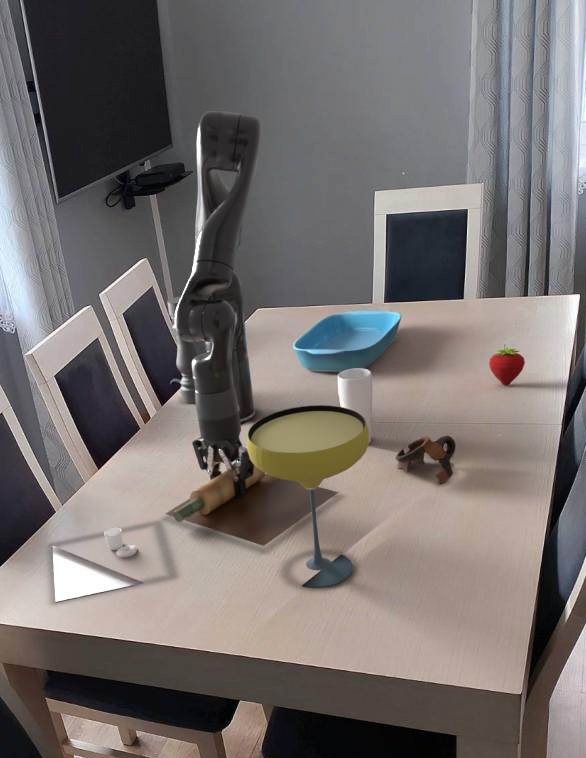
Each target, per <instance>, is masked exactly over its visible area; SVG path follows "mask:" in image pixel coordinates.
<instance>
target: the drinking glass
mask: <svg viewBox="0 0 586 758" xmlns="http://www.w3.org/2000/svg"><path fill="white" fill-rule="evenodd" d="M337 393H338V400H339V407H343V408H347V409H351V410H353V411H355V412H357V413H359V414H360V415H362V416H363V417H364V419H365V421H366V423H367V426H368V432H369V442H368V444H370V443H371V442H372V413H373V412H372V411H373V379H372V372H371V370H370V369H367V368H364V369H362V368H354V369H348V370H344V371H342V372H338V374H337Z"/></svg>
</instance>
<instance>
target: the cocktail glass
mask: <svg viewBox="0 0 586 758" xmlns="http://www.w3.org/2000/svg"><path fill="white" fill-rule="evenodd" d="M368 442H369V432H368V426H367V423H366V421H365V419H364V417H363V416H362V415H360V414H359V413H357V412H355V411H353V410H351V409H347V408H343V407H340V406H337V405H327V404H325V405H323V404H321V405H320V404H319V405H317V404H316V405H315V404H314V405H302V406H297V407H289V408H286V409H283V410H277V411H275V412H274V413H273V412H272V413H270V414H268V415H266V416H263V417H262V418H260V419H259V420H256V422H254V423H253V424H252V425H251V427H250V428H249V429H248V431H247V433H246V448H247V450H248V454H249V457H250V460H251V461H252V463H253V464H254V465H255V466H256V467H257V468H258V469H260V470H261V471H263V472H264V473H265V474H268V475H270V476H273V477H276V478H279V479H283V480H289V481H296V482H299V483H300V484H301V485H302V486H303V487H304V488H306V489H308V490H310V498H311V509H312V511H311V518H312V519H311V520H312V532H313V533H312V534H313V548H314V549H313V558H310V559H309V560H307V562H306V563H305V566H306V568H308V569H309V570H312V571H318V572H317V573H316V574H314V575H313V576H312V577H310V578H309V579H307V581H305V582H304V583H302V584H301V587H305V588H312V589H315V588H316V589H320V588H328V587H331V586H335V585H337V584H338V585H339V584H340V583H342V582H344V581H345V580H346V579H348V578H349V576H350V575H351V574H352V572H353V568H354V567H353V563H352V561H351V559H350V558H349V557H347V556H346V555H345V554H340V555H338V556H337V557H336V558H334V559H333V560H332V561H331V560H330V559H329V558H327V557H323V555H322V551H321V547H320V540H319V539H320V538H319V531H318V530H319V529H318V522H317V511H316V509H315V499H314V489H316V488H317V487H320V485H321V483H322V482H323V481H324V480H325V479H329V478H332V477H334V476H337V475H339V474H341V473H344V472H345V471H347V470H348V469H350V468H351V467H353V466H354V465H356V464H357V463H358V462H359V461H360V460H361V459H362V458H363V456H365V454H366V452H367V450H368V448H369V443H368Z"/></svg>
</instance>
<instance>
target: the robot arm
mask: <svg viewBox="0 0 586 758" xmlns="http://www.w3.org/2000/svg"><path fill="white" fill-rule="evenodd" d="M262 138H263V126H262V122H261V120H260V118H259V117H258V116H255V115H251V114H245V113H240V112H239V113H238V112H230V111H221V110H208V111H205V112H204V113H203V114H202V115H201V117H200V120H199V122H198V126H197V132H196V144H195V145H196V147H195V149H196V169H197V170H196V171H197V197H196V198H197V199H196V201H197V202H196V211H195V226H194V227H195V228H194V229H195V231H194V237H195V238H194V240H195V241H194V242H195V244H194V246H195V247H194V249H195V250H194V255H193V261H192V267H191V268H192V270H191V274H190V276H189V277H188V280H187V282H186V285H185V287H184V290H183V292H182V294H181V296H180V297H181V299H180V301H179V303H178V305H177V308H176V312H175V317H174V321H173V325H175V329H176V332H177V334H178V336H179V337H180V338H181V339H182V340H184V341H187V342H194V343H204V346H205V352H202V353H198V354H199V355H197V356H196V357H194V359H193V360H192V374H193V380H194V386H195V402H196V403H195V409H196V414H197V415H196V416H197V421H198V426H199V427H198V428H199V434H200V437H198V438H196V439H194V440H193V441H192V442H191V444H192V447H193V451H194V453H195V456H196V460H197V462H198V466H199V468H200V470H201V471H206V472H207V474H208V475H209V479H210V480H212V479H213V478H215V477H217V476H218V475H220V474H222V473H223V472H222V470H221V466H222V464H224V465H225V468H226V471H227V470H228V471H230V472H231V475H232V477H233V479H234V481H233V483H234V490H235V497H236V498H239V499H240V498H242V497H243V496H245V494H246V492H247V489H246V481H245V480H246V479H247V478H249V477H250V476H252V475H253V473H254V464H253V463H252V461H251V460H250V457H249V454H248V450H247V447H244V446H243V443H242V442H241V441H242V440H241V439H240V435H241V432H242V426H241V424H242V423H246V422H249V421H250V420H252V419H254V418H255V417H256V409H255V403H254V394H253V386H252V377H251V376H252V375H251V369H250V361H249V352H248V344H247V336H246V335H247V334H246V324H245V313H244V312H245V311H244V310H245V309H244V295H243V294H244V293H243V287H242V282H241V279H240V277H239V275H238V273H237V272H235V270H234V267H235V261H236V256H237V251H238V249H239V248H240V246H241V242H242V238H243V229H244V218H245V214H246V210H247V207H248V204H249V200H250V196H251V192H252V188H253V184H254V181H255V176H256V173H257V172H256V171H257V168H258V164H259V159H260V153H261V147H262ZM220 171H222V172H223V171H224V172H231V173H236V176H235V180H234V182H233V185H232V187H231V189H230V188H229V186H228V185H227V184H226V182H225V181H224V179H223V178H222V176H221V174H220ZM176 332H175V333H176ZM181 380H182V379H179V378H173V379H172V380H170V383H169V384H170V385H175V383H177V384H180V382H181ZM236 468H238V471H239V473H237V471H236Z"/></svg>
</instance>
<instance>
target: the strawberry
mask: <svg viewBox="0 0 586 758" xmlns="http://www.w3.org/2000/svg"><path fill="white" fill-rule="evenodd" d="M503 348H504V349H495V350H494V352H498V353H495V354H493V355H492V356H491V357H490V358H489V362H488V365H489V368H490V371H491V372H492V375H493V376H494V377H495V378H496V379H497V380H498V381H499V382H500V383H501V384H502V385H503V386H505V387H508V386H509V385H511V383H512V382H514V381H515V379H517V378H518V377H519V375H520V374H521V373H522V371H523V369H524V367H525V364H526V361H525V357H524V356H523V355H522V354H520V353H519V352H520V350H516V348H510V349H509V347H506V345H504V347H503Z"/></svg>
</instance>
